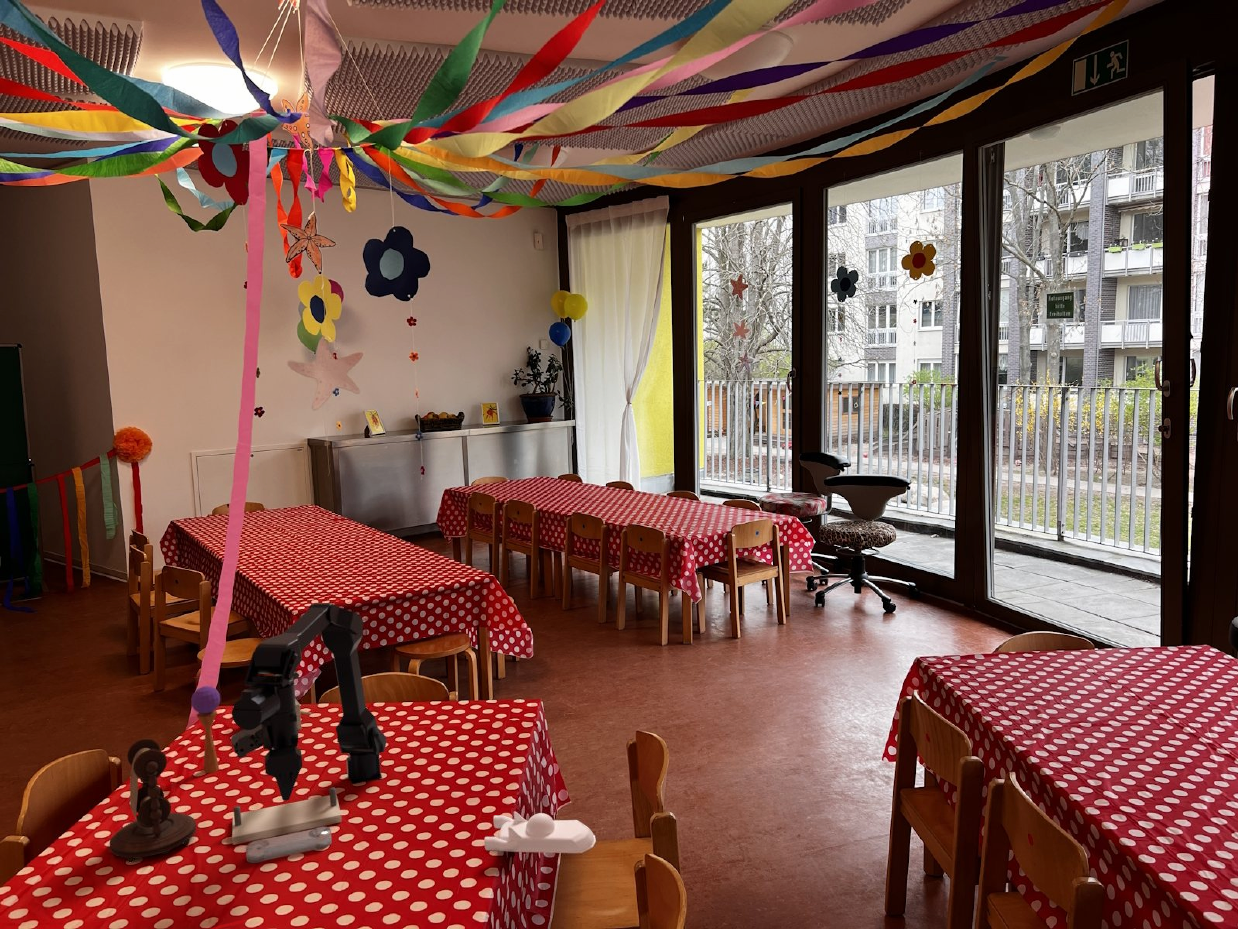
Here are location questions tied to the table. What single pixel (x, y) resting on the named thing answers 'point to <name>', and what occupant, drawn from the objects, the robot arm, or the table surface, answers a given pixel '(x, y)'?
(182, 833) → the dark brown upright piece
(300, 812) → the peg rack
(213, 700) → the kendama
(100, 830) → the table surface
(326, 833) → the grey baby rattle
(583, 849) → the plane toy
